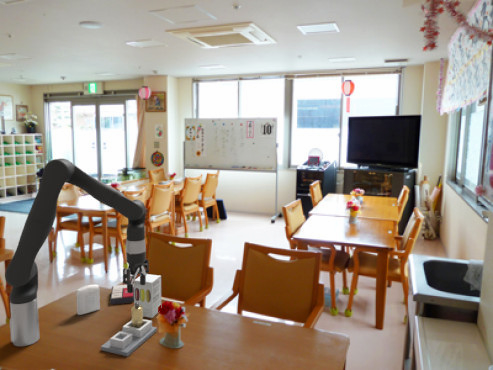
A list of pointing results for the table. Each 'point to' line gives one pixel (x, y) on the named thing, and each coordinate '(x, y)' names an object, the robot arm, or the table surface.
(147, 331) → the grey holder tray
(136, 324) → the yellow bottle
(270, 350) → the table surface
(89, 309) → the photo printer
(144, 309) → the supplement box
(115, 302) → the printed cardboard box
